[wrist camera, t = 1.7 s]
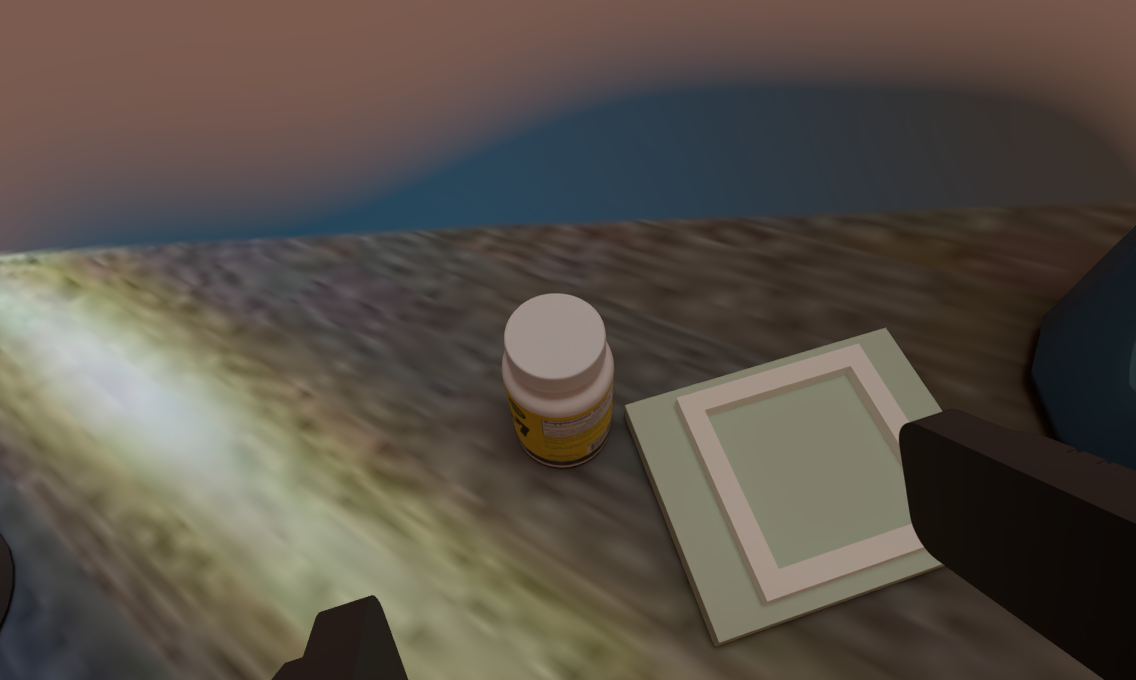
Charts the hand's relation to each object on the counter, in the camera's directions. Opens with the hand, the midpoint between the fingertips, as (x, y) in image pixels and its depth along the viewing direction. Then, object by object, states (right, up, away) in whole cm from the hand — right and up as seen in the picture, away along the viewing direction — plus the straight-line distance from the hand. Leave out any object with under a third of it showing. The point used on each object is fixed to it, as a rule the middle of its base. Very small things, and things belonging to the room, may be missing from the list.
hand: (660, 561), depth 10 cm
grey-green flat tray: (+10, -3, +22) cm, 24 cm away
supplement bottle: (-2, -1, +24) cm, 24 cm away
